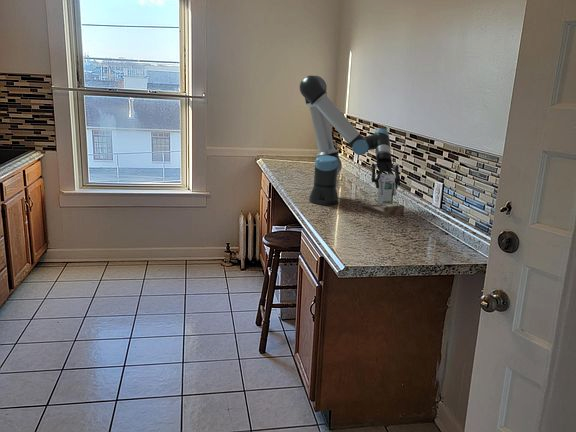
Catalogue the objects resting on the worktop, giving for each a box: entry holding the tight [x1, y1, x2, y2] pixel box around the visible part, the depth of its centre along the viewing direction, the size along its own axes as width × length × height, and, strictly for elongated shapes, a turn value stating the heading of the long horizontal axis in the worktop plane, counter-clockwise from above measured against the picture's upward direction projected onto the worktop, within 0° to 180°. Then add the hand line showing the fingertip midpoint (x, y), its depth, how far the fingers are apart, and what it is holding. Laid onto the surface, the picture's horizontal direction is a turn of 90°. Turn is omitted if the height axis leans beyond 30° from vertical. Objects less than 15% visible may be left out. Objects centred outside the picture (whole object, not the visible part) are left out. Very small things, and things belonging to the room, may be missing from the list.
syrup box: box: [377, 173, 396, 205], centre depth 253 cm, size 6×6×14 cm
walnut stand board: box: [363, 203, 405, 217], centre depth 255 cm, size 12×16×4 cm
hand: (387, 193), depth 250 cm, fingers closed on syrup box, 7 cm apart
